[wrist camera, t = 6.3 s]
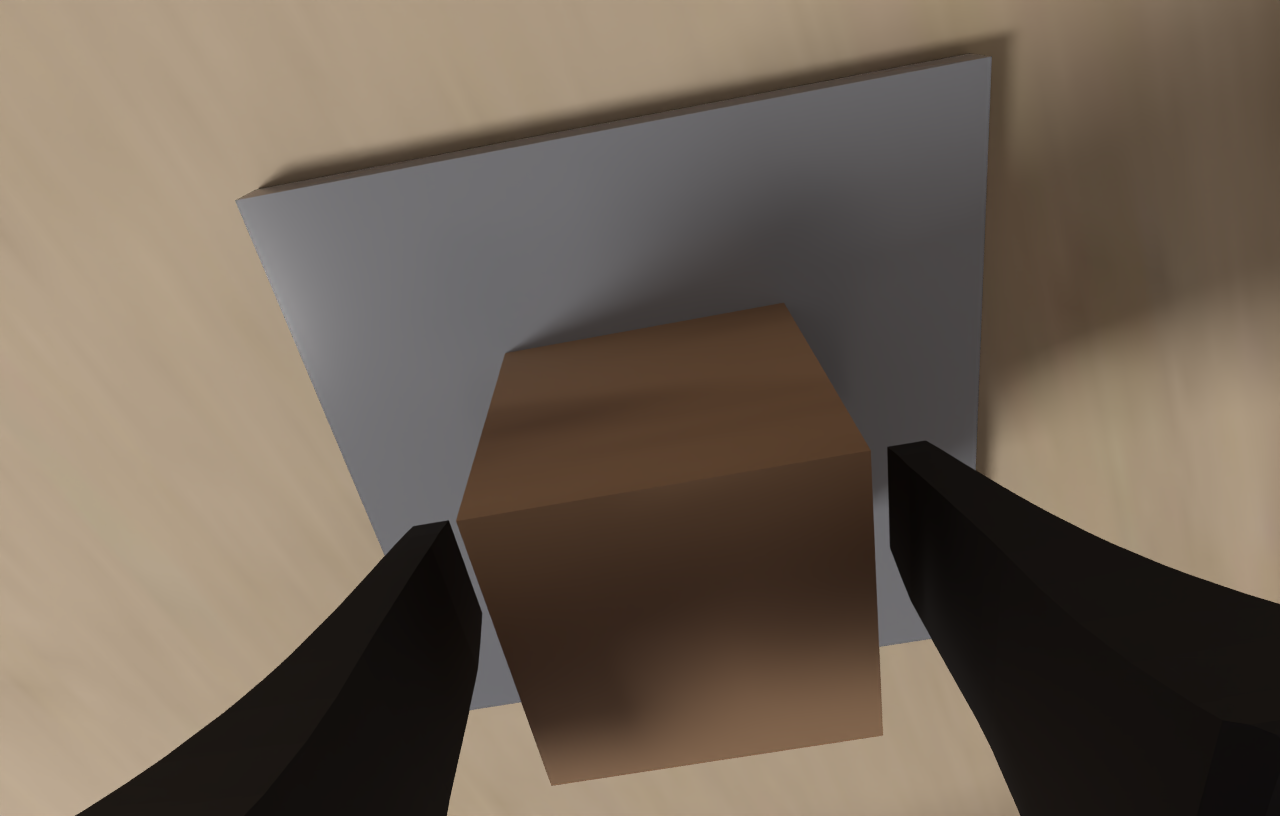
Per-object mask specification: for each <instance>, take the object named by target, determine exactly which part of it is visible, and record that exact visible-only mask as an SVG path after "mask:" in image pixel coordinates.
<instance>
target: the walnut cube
mask: <svg viewBox="0 0 1280 816" xmlns="http://www.w3.org/2000/svg"><path fill="white" fill-rule="evenodd" d="M456 523H457V526H458V528H459V531H460V534H461V537H462V539H463V542H464V545H465V548H466V550H467V553H468V556H469V559H470V562H471V564H472V567H473V570H474V573H475V575H476V578H477V581H478V584H479V586H480V589H481V592H482V595H483V598H484V600H485V603H486V606H487V609H488V611H489V614H490V617H491V620H492V622H493V625H494V628H495V631H496V634H497V636H498V639H499V642H500V645H501V647H502V650H503V653H504V656H505V658H506V661H507V664H508V667H509V669H510V672H511V675H512V678H513V681H514V683H515V686H516V689H517V692H518V694H519V697H520V700H521V703H522V705H523V708H524V711H525V714H526V717H527V719H528V722H529V725H530V728H531V730H532V733H533V736H534V739H535V741H536V744H537V747H538V750H539V752H540V755H541V758H542V761H543V764H544V766H545V769H546V772H547V775H548V777H549V780H550V783H551V786H553V785H560V784H566V783H573V782H579V781H586V780H593V779H599V778H606V777H612V776H619V775H626V774H632V773H639V772H645V771H652V770H659V769H665V768H672V767H678V766H685V765H691V764H698V763H705V762H711V761H718V760H724V759H731V758H738V757H744V756H751V755H757V754H764V753H771V752H777V751H784V750H790V749H797V748H803V747H810V746H817V745H823V744H830V743H836V742H843V741H850V740H856V739H863V738H869V737H876V736H882V735H883V726H882V702H881V678H880V655H879V631H878V607H877V584H876V560H875V537H874V513H873V489H872V466H871V450H870V448H869V446H868V445H867V443H866V441H865V440H864V438H863V436H862V434H861V433H860V431H859V429H858V428H857V426H856V424H855V423H854V421H853V419H852V417H851V416H850V414H849V412H848V411H847V409H846V407H845V406H844V404H843V402H842V400H841V399H840V397H839V395H838V394H837V392H836V390H835V389H834V387H833V385H832V383H831V382H830V380H829V378H828V377H827V375H826V373H825V372H824V370H823V368H822V367H821V365H820V363H819V361H818V360H817V358H816V356H815V355H814V353H813V351H812V350H811V348H810V346H809V344H808V343H807V341H806V339H805V338H804V336H803V334H802V333H801V331H800V329H799V327H798V326H797V324H796V322H795V321H794V319H793V317H792V316H791V314H790V312H789V310H788V309H787V307H786V305H785V304H784V303H779V304H774V305H768V306H763V307H757V308H752V309H746V310H741V311H735V312H730V313H724V314H719V315H713V316H708V317H702V318H697V319H691V320H686V321H680V322H675V323H669V324H663V325H658V326H652V327H647V328H641V329H636V330H630V331H625V332H619V333H614V334H608V335H603V336H597V337H592V338H586V339H581V340H575V341H570V342H564V343H559V344H553V345H548V346H542V347H537V348H531V349H526V350H520V351H514V352H509V353H505V355H504V359H503V362H502V365H501V369H500V372H499V376H498V379H497V382H496V386H495V389H494V393H493V396H492V400H491V403H490V406H489V410H488V413H487V417H486V420H485V423H484V427H483V430H482V434H481V437H480V441H479V444H478V447H477V451H476V454H475V458H474V461H473V464H472V468H471V471H470V475H469V478H468V482H467V485H466V488H465V492H464V495H463V499H462V502H461V505H460V509H459V512H458V516H457V519H456Z"/></svg>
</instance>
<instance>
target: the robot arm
mask: <svg viewBox="0 0 1280 816" xmlns="http://www.w3.org/2000/svg"><path fill="white" fill-rule="evenodd" d="M887 460H888V499H889V537H890V550H891V552H892V555H893V557H894V560H895V563H896V565H897V568H898V570H899V573H900V576H901V578H902V581H903V583H904V586H905V588H906V590H907V593H908V595H909V598H910V600H911V602H912V604H913V606H914V608H915V610H916V612H917V613H918V615H919V617H920V619H921V621H922V622H923V624H924V626H925V628H926V630H927V631H928V633H929V635H930V637H931V639H932V641H933V642H934V644H935V646H936V648H937V649H938V651H939V653H940V655H941V657H942V658H943V660H944V662H945V664H946V665H947V667H948V669H949V671H950V673H951V674H952V676H953V678H954V680H955V681H956V683H957V685H958V687H959V689H960V690H961V692H962V694H963V696H964V698H965V699H966V701H967V703H968V705H969V706H970V708H971V710H972V712H973V714H974V715H975V717H976V719H977V721H978V723H979V725H980V727H981V729H982V731H983V733H984V735H985V737H986V739H987V741H988V743H989V745H990V746H991V749H992V751H993V753H994V756H995V758H996V760H997V762H998V765H999V767H1000V769H1001V772H1002V774H1003V776H1004V779H1005V781H1006V783H1007V785H1008V788H1009V790H1010V792H1011V795H1012V797H1013V799H1014V802H1015V804H1016V806H1017V808H1018V811H1019V813H1020V816H1280V604H1278V603H1274V602H1271V601H1268V600H1264V599H1261V598H1258V597H1254V596H1251V595H1248V594H1245V593H1242V592H1239V591H1236V590H1233V589H1230V588H1227V587H1224V586H1221V585H1218V584H1215V583H1212V582H1209V581H1206V580H1204V579H1201V578H1198V577H1195V576H1192V575H1189V574H1186V573H1184V572H1181V571H1178V570H1176V569H1173V568H1170V567H1168V566H1165V565H1162V564H1160V563H1157V562H1155V561H1153V560H1150V559H1148V558H1145V557H1143V556H1141V555H1138V554H1136V553H1134V552H1131V551H1129V550H1126V549H1124V548H1122V547H1119V546H1117V545H1114V544H1112V543H1110V542H1108V541H1106V540H1103V539H1101V538H1099V537H1097V536H1095V535H1093V534H1091V533H1088V532H1086V531H1084V530H1082V529H1081V528H1079V527H1077V526H1075V525H1073V524H1071V523H1069V522H1067V521H1065V520H1063V519H1061V518H1059V517H1057V516H1055V515H1053V514H1051V513H1049V512H1047V511H1045V510H1043V509H1042V508H1040V507H1038V506H1036V505H1034V504H1032V503H1030V502H1029V501H1027V500H1025V499H1023V498H1022V497H1020V496H1018V495H1016V494H1015V493H1013V492H1011V491H1009V490H1008V489H1006V488H1004V487H1002V486H1001V485H999V484H997V483H996V482H994V481H992V480H991V479H989V478H987V477H986V476H984V475H982V474H981V473H979V472H977V471H976V470H974V469H973V468H971V467H969V466H968V465H966V464H964V463H963V462H961V461H960V460H958V459H956V458H955V457H953V456H951V455H950V454H948V453H946V452H945V451H943V450H942V449H940V448H938V447H936V446H935V445H933V444H931V443H929V442H928V441H926V440H925V441H919V442H913V443H907V444H901V445H895V446H889V447H887ZM481 628H482V611H481V608H480V605H479V602H478V599H477V597H476V594H475V591H474V588H473V586H472V583H471V580H470V577H469V575H468V572H467V569H466V566H465V563H464V561H463V558H462V555H461V552H460V550H459V547H458V544H457V541H456V538H455V536H454V533H453V530H452V527H451V525H450V522H449V520H447V521H441V522H435V523H429V524H423V525H417V526H413V527H412V528H411V529H410V530H409V531H408V532H407V533H406V534H405V535H404V536H403V537H402V538H401V539H400V540H399V541H398V542H397V543H396V544H395V545H394V546H393V547H392V549H391V550H390V551H389V552H388V553H387V554H386V555H385V556H384V557H383V558H382V560H381V561H380V562H379V563H378V564H377V565H376V566H375V567H374V569H373V570H372V571H371V572H370V573H369V574H368V575H367V576H366V577H365V578H364V580H363V581H362V582H361V583H360V584H359V585H358V586H357V587H356V588H355V589H354V590H353V591H352V593H351V594H350V595H349V596H348V597H347V598H346V599H345V600H344V601H343V602H342V603H341V605H340V606H339V607H338V608H337V609H336V610H335V611H334V612H333V613H332V614H331V615H330V616H329V617H328V618H327V619H326V620H325V621H324V622H323V623H322V624H321V625H320V626H319V627H318V628H317V629H316V630H315V631H314V632H313V633H312V634H311V635H310V636H309V637H308V638H307V639H306V640H305V641H304V642H303V643H302V644H301V645H300V646H299V647H298V648H297V649H296V650H295V651H294V652H293V653H292V654H291V655H290V656H289V657H288V658H287V659H285V660H284V661H283V662H282V663H281V664H280V665H279V666H278V667H277V668H276V669H275V670H273V671H272V672H271V673H270V674H269V675H268V676H267V677H266V678H265V679H263V680H262V681H261V682H260V683H259V684H258V685H256V686H255V687H254V688H253V689H252V690H250V691H249V692H248V693H247V694H246V695H245V696H243V697H242V698H241V699H240V700H239V701H237V702H236V703H235V704H234V705H233V706H231V707H230V708H229V709H228V710H226V711H225V712H224V713H223V714H221V715H220V716H219V717H217V718H216V719H215V720H213V721H212V722H211V723H209V724H208V725H207V726H205V727H204V728H203V729H201V730H200V731H199V732H197V733H196V734H195V735H193V736H192V737H191V738H189V739H188V740H187V741H185V742H184V743H183V744H181V745H180V746H179V747H177V748H176V749H175V750H173V751H172V752H171V753H169V754H168V755H167V756H165V757H164V758H163V759H161V760H160V761H158V762H157V763H155V764H154V765H153V766H151V767H150V768H148V769H147V770H145V771H144V772H142V773H141V774H139V775H138V776H136V777H135V778H133V779H132V780H130V781H129V782H127V783H126V784H125V785H123V786H121V787H120V788H118V789H117V790H115V791H114V792H112V793H111V794H109V795H107V796H106V797H104V798H103V799H101V800H100V801H98V802H96V803H95V804H93V805H92V806H90V807H89V808H87V809H85V810H84V811H82V812H81V813H79V814H77V815H76V816H447V812H448V806H449V800H450V795H451V791H452V786H453V782H454V777H455V773H456V768H457V764H458V759H459V755H460V750H461V746H462V741H463V737H464V732H465V728H466V724H467V719H468V715H469V710H470V705H471V701H472V696H473V691H474V687H475V682H476V677H477V672H478V664H479V654H480V643H481Z"/></svg>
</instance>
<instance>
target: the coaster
mask: <svg viewBox="0 0 1280 816" xmlns="http://www.w3.org/2000/svg"><path fill="white" fill-rule="evenodd" d="M991 62H992V56H985V55H977V54H970V53H969V54H964V55H959V56H954V57H948V58H943V59H938V60H933V61H927V62H922V63H917V64H912V65H906V66H901V67H896V68H891V69H885V70H880V71H875V72H870V73H865V74H859V75H854V76H849V77H844V78H838V79H833V80H828V81H823V82H817V83H812V84H807V85H802V86H796V87H791V88H786V89H781V90H775V91H770V92H765V93H760V94H754V95H749V96H744V97H739V98H733V99H728V100H723V101H718V102H713V103H707V104H702V105H697V106H692V107H686V108H681V109H676V110H671V111H665V112H660V113H655V114H650V115H644V116H639V117H634V118H629V119H623V120H618V121H613V122H608V123H602V124H597V125H592V126H587V127H581V128H576V129H571V130H566V131H561V132H555V133H550V134H545V135H540V136H534V137H529V138H524V139H519V140H513V141H508V142H503V143H498V144H492V145H487V146H482V147H477V148H471V149H466V150H461V151H456V152H450V153H445V154H440V155H435V156H429V157H424V158H419V159H414V160H409V161H403V162H398V163H393V164H388V165H382V166H377V167H372V168H367V169H361V170H356V171H351V172H346V173H340V174H335V175H330V176H325V177H319V178H314V179H309V180H304V181H298V182H293V183H288V184H283V185H277V186H272V187H267V188H262V189H257V190H254V191H252V192H250V193H248V194H246V195H245V196H243V197H241V198H239V199H237V200H235V201H236V204H237V206H238V208H239V211H240V213H241V216H242V218H243V220H244V223H245V225H246V227H247V230H248V232H249V235H250V237H251V239H252V242H253V244H254V246H255V249H256V251H257V254H258V256H259V258H260V261H261V263H262V265H263V268H264V270H265V273H266V275H267V277H268V280H269V282H270V284H271V287H272V289H273V292H274V294H275V296H276V299H277V301H278V303H279V306H280V308H281V311H282V313H283V315H284V318H285V320H286V322H287V325H288V327H289V330H290V332H291V334H292V337H293V339H294V341H295V344H296V346H297V349H298V351H299V353H300V356H301V358H302V360H303V363H304V365H305V367H306V370H307V372H308V375H309V377H310V379H311V382H312V384H313V386H314V389H315V391H316V394H317V396H318V398H319V401H320V403H321V405H322V408H323V410H324V413H325V415H326V417H327V420H328V422H329V424H330V427H331V429H332V432H333V434H334V436H335V439H336V441H337V443H338V446H339V448H340V451H341V453H342V455H343V458H344V460H345V462H346V465H347V467H348V470H349V472H350V474H351V477H352V479H353V481H354V484H355V486H356V489H357V491H358V493H359V496H360V498H361V500H362V503H363V505H364V507H365V510H366V512H367V515H368V517H369V519H370V522H371V524H372V526H373V529H374V531H375V534H376V536H377V538H378V541H379V543H380V545H381V548H382V550H383V553H384V555H386V554H387V553H388V552H389V551H390V550H391V549H392V547H393V546H394V545H395V544H396V543H397V542H398V541H399V540H400V539H401V538H402V537H403V536H404V535H405V534H406V533H407V532H408V531H409V530H410V529H411V528H412V527H413V526H417V525H423V524H429V523H435V522H441V521H447V520H449V522H450V525H451V527H452V530H453V533H454V536H455V538H456V541H457V544H458V547H459V550H460V552H461V555H462V558H463V561H464V563H465V566H466V569H467V572H468V575H469V577H470V580H471V583H472V586H473V588H474V591H475V594H476V597H477V599H478V602H479V605H480V608H481V611H482V628H481V643H480V654H479V664H478V672H477V677H476V682H475V687H474V691H473V696H472V701H471V705H470V710H474V709H480V708H487V707H493V706H500V705H506V704H513V703H519V702H521V700H520V697H519V694H518V692H517V689H516V686H515V683H514V681H513V678H512V675H511V672H510V669H509V667H508V664H507V661H506V658H505V656H504V653H503V650H502V647H501V645H500V642H499V639H498V636H497V634H496V631H495V628H494V625H493V622H492V620H491V617H490V614H489V611H488V609H487V606H486V603H485V600H484V598H483V595H482V592H481V589H480V586H479V584H478V581H477V578H476V575H475V573H474V570H473V567H472V564H471V562H470V559H469V556H468V553H467V550H466V548H465V545H464V542H463V539H462V537H461V534H460V531H459V528H458V526H457V523H456V519H457V516H458V512H459V509H460V505H461V502H462V499H463V495H464V492H465V488H466V485H467V482H468V478H469V475H470V471H471V468H472V464H473V461H474V458H475V454H476V451H477V447H478V444H479V441H480V437H481V434H482V430H483V427H484V423H485V420H486V417H487V413H488V410H489V406H490V403H491V400H492V396H493V393H494V389H495V386H496V382H497V379H498V376H499V372H500V369H501V365H502V362H503V359H504V355H505V353H509V352H514V351H520V350H526V349H531V348H537V347H542V346H548V345H553V344H559V343H564V342H570V341H575V340H581V339H586V338H592V337H597V336H603V335H608V334H614V333H619V332H625V331H630V330H636V329H641V328H647V327H652V326H658V325H663V324H669V323H675V322H680V321H686V320H691V319H697V318H702V317H708V316H713V315H719V314H724V313H730V312H735V311H741V310H746V309H752V308H757V307H763V306H768V305H774V304H779V303H784V304H785V305H786V307H787V309H788V310H789V312H790V314H791V316H792V317H793V319H794V321H795V322H796V324H797V326H798V327H799V329H800V331H801V333H802V334H803V336H804V338H805V339H806V341H807V343H808V344H809V346H810V348H811V350H812V351H813V353H814V355H815V356H816V358H817V360H818V361H819V363H820V365H821V367H822V368H823V370H824V372H825V373H826V375H827V377H828V378H829V380H830V382H831V383H832V385H833V387H834V389H835V390H836V392H837V394H838V395H839V397H840V399H841V400H842V402H843V404H844V406H845V407H846V409H847V411H848V412H849V414H850V416H851V417H852V419H853V421H854V423H855V424H856V426H857V428H858V429H859V431H860V433H861V434H862V436H863V438H864V440H865V441H866V443H867V445H868V446H869V448H870V450H871V466H872V489H873V513H874V537H875V560H876V584H877V607H878V631H879V647H881V646H888V645H894V644H901V643H907V642H913V641H920V640H926V639H931V637H930V635H929V633H928V631H927V630H926V628H925V626H924V624H923V622H922V621H921V619H920V617H919V615H918V613H917V612H916V610H915V608H914V606H913V604H912V602H911V600H910V598H909V595H908V593H907V590H906V588H905V586H904V583H903V581H902V578H901V576H900V573H899V570H898V568H897V565H896V563H895V560H894V557H893V555H892V552H891V550H890V537H889V499H888V460H887V447H889V446H895V445H901V444H907V443H913V442H919V441H925V440H926V441H928V442H929V443H931V444H933V445H935V446H936V447H938V448H940V449H942V450H943V451H945V452H946V453H948V454H950V455H951V456H953V457H955V458H956V459H958V460H960V461H961V462H963V463H964V464H966V465H968V466H969V467H971V468H973V469H974V470H976V447H977V421H978V395H979V370H980V344H981V318H982V293H983V267H984V242H985V216H986V190H987V165H988V139H989V113H990V88H991Z"/></svg>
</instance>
